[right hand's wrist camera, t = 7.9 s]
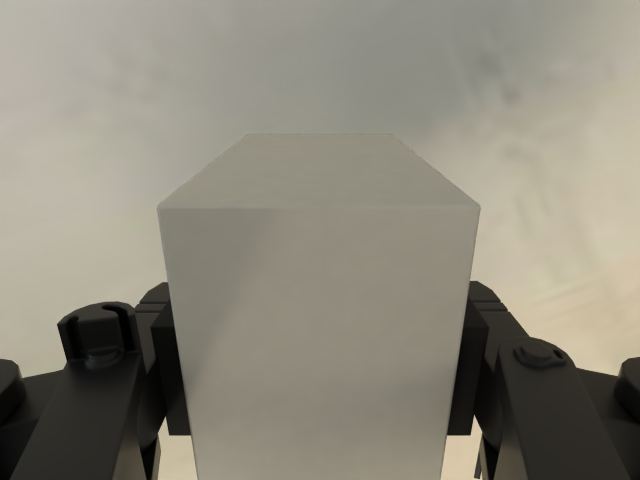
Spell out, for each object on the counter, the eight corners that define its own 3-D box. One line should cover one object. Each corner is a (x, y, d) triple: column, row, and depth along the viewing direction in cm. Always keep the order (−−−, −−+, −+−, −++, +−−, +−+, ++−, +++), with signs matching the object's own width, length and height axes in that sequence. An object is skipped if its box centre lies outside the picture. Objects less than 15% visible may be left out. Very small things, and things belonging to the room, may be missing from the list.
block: (392, 133, 14) (483, 204, 6) (380, 329, 17) (431, 546, 9) (246, 133, 14) (154, 204, 6) (258, 329, 17) (206, 547, 9)
